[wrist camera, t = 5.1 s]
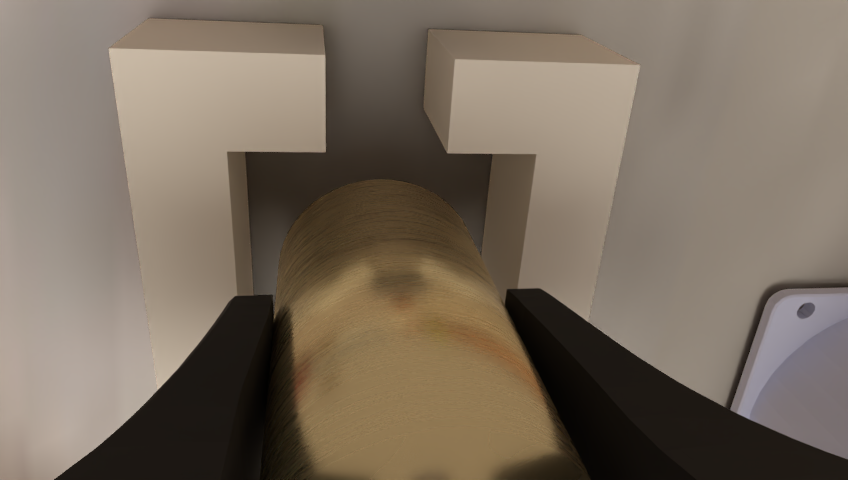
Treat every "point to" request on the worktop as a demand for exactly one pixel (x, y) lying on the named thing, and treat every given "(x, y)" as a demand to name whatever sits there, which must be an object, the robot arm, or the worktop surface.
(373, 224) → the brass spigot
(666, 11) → the worktop surface
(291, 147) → the dock
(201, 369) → the robot arm
